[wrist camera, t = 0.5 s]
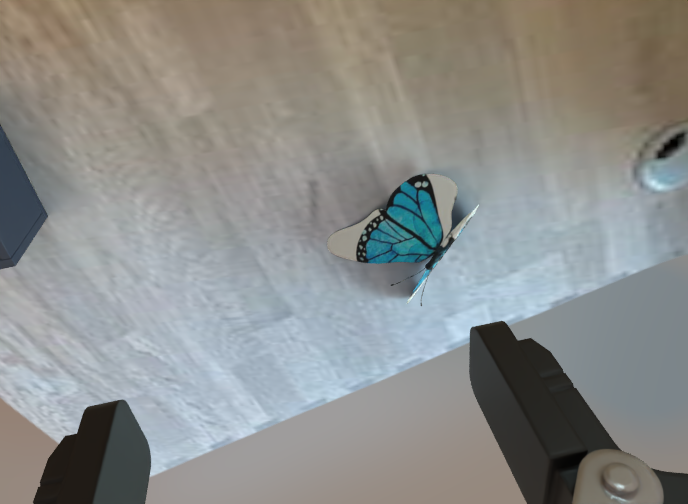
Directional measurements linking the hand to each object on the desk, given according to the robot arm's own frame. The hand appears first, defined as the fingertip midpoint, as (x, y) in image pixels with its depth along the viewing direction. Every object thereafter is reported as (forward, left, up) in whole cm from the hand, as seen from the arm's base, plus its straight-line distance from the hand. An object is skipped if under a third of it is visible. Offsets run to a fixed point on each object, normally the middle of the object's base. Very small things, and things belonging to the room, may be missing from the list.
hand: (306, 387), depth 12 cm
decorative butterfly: (+14, +9, -28) cm, 32 cm away
